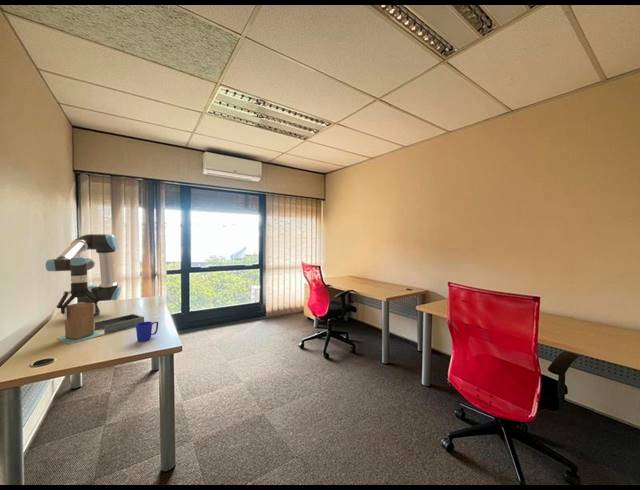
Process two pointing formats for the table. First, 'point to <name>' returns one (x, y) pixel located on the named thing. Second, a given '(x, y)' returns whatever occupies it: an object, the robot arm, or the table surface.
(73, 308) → the wooden block
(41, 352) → the table surface
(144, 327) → the mug
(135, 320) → the chute
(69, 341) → the pad
